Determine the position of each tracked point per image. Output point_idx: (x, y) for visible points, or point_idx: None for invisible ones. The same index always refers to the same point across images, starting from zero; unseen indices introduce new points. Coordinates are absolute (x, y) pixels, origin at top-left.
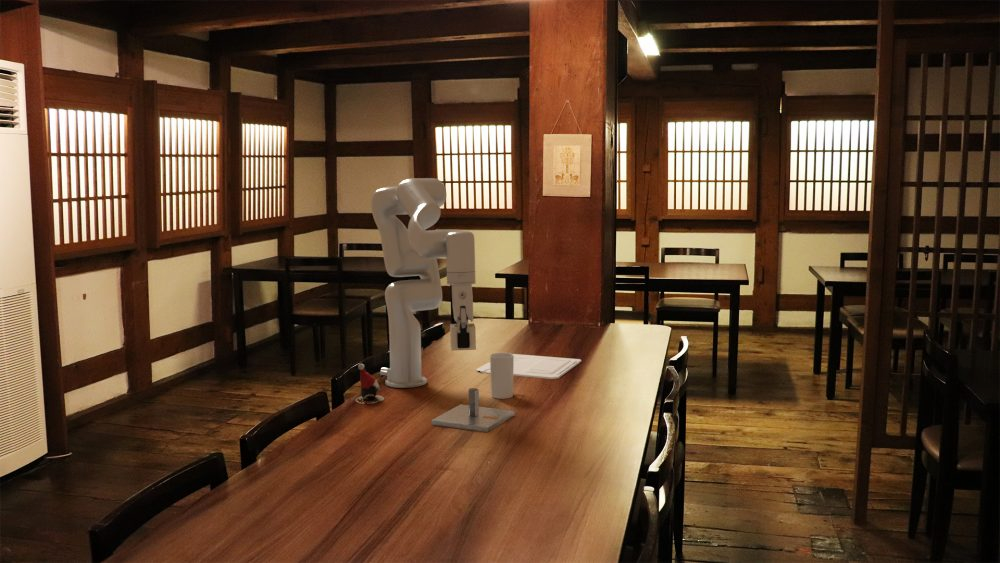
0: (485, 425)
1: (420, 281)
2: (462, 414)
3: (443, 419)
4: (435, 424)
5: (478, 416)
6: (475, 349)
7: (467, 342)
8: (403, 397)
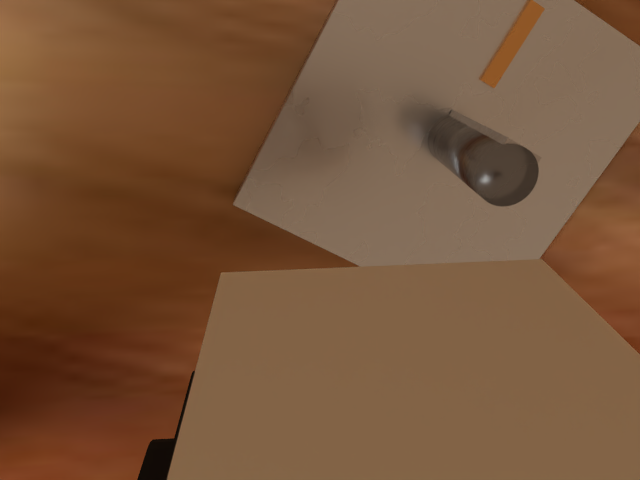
0: (637, 82)
1: None
2: (423, 194)
3: None
4: None
5: (474, 112)
6: (542, 265)
7: None
8: (29, 453)
